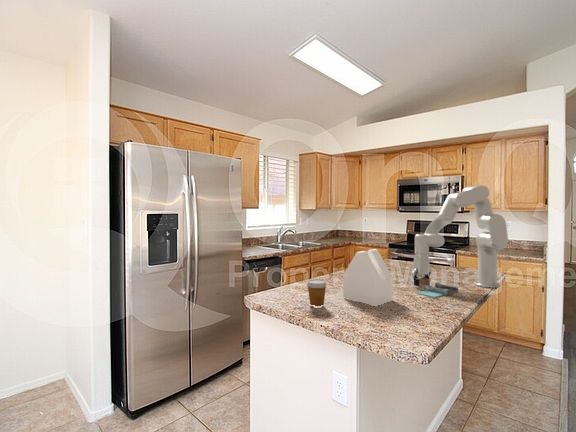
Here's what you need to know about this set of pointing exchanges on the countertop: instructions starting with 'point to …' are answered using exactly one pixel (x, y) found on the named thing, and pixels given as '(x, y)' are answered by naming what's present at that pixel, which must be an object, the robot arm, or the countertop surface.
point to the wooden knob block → (423, 282)
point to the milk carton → (368, 279)
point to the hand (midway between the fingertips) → (421, 284)
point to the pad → (430, 294)
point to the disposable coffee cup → (316, 291)
